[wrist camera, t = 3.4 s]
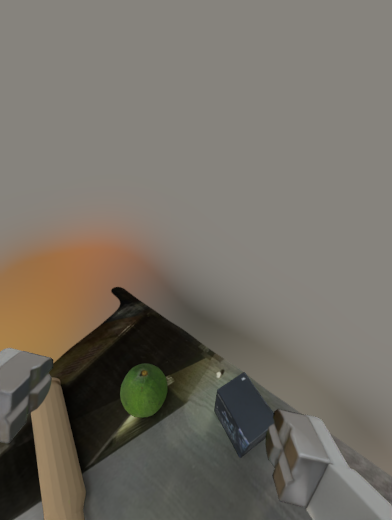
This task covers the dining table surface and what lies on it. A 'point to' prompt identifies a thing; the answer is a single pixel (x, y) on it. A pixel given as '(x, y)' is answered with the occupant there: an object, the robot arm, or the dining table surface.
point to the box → (243, 413)
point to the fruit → (143, 390)
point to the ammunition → (57, 459)
